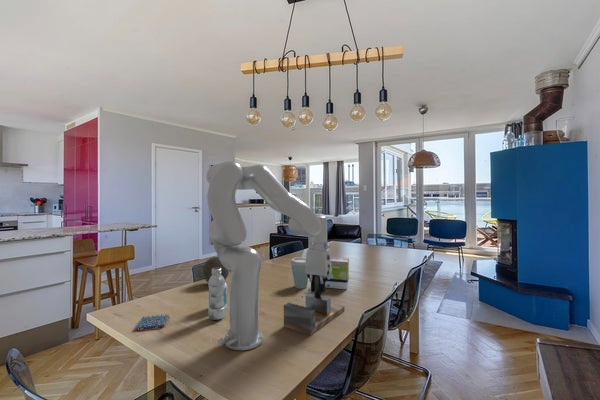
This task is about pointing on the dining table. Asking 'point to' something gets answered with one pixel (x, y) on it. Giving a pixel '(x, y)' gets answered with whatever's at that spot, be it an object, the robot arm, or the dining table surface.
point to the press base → (318, 320)
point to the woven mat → (152, 322)
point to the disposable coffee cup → (299, 272)
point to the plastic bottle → (216, 295)
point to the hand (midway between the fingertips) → (317, 291)
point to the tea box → (339, 273)
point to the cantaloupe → (214, 263)
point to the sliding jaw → (318, 299)
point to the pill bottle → (224, 296)
